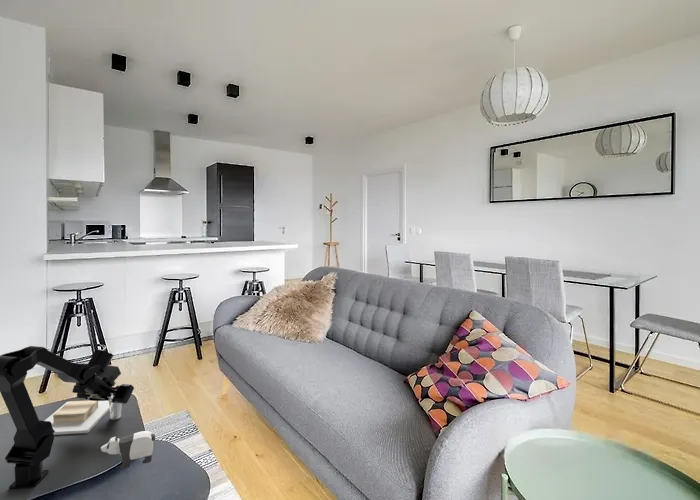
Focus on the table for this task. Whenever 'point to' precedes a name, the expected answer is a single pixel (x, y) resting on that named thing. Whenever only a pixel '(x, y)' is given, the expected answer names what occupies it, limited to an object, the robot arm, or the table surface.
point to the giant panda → (131, 447)
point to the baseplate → (80, 426)
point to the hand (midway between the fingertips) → (117, 399)
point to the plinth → (75, 411)
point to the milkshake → (114, 409)
